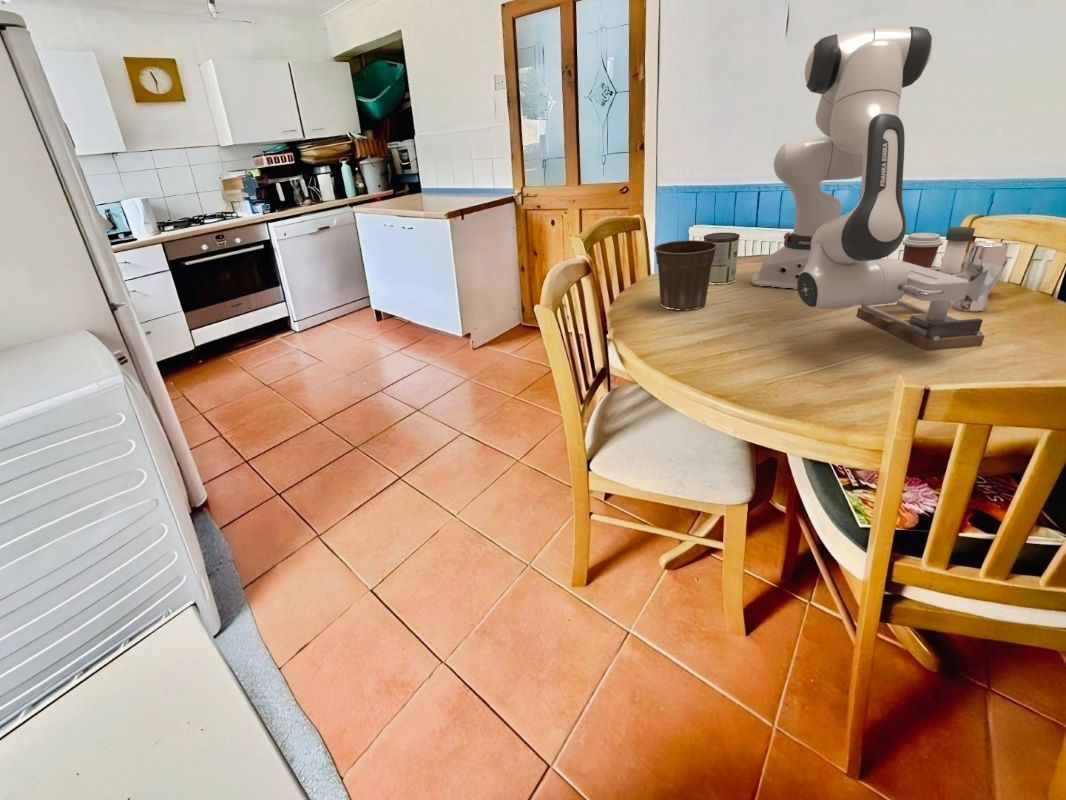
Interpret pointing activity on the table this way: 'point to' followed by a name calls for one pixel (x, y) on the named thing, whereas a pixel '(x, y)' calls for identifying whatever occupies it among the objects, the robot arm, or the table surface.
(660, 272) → the plant pot
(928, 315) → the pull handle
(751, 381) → the table surface
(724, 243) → the coffee can
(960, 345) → the press bed
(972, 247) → the beer glass
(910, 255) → the coffee cup
